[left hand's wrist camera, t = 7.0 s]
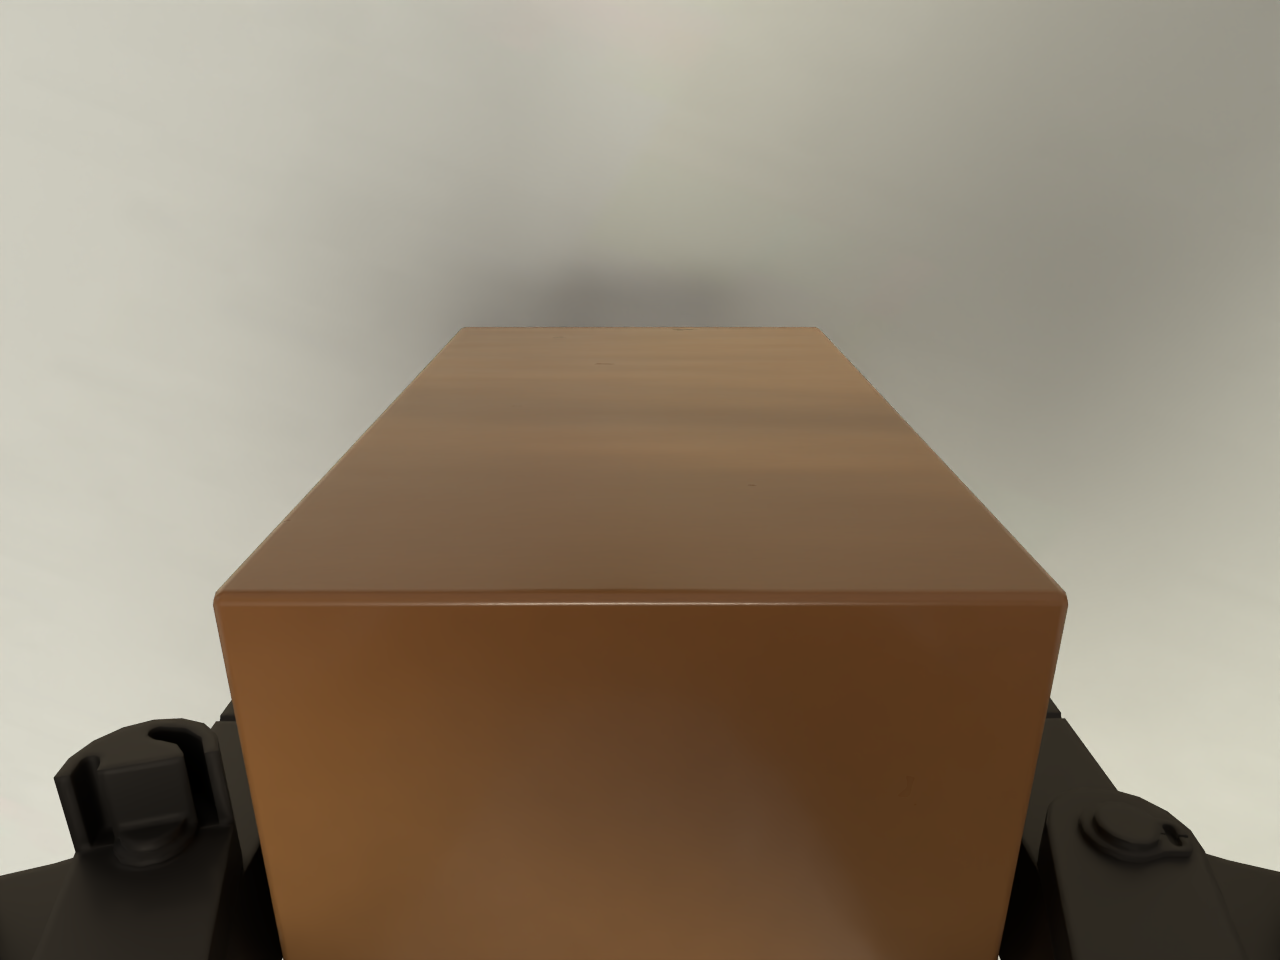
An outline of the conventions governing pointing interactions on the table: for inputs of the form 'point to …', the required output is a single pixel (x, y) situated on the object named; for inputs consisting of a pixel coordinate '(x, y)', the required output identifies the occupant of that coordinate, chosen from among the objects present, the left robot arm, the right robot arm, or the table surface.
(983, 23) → the table surface
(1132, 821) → the left robot arm
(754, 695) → the bar
